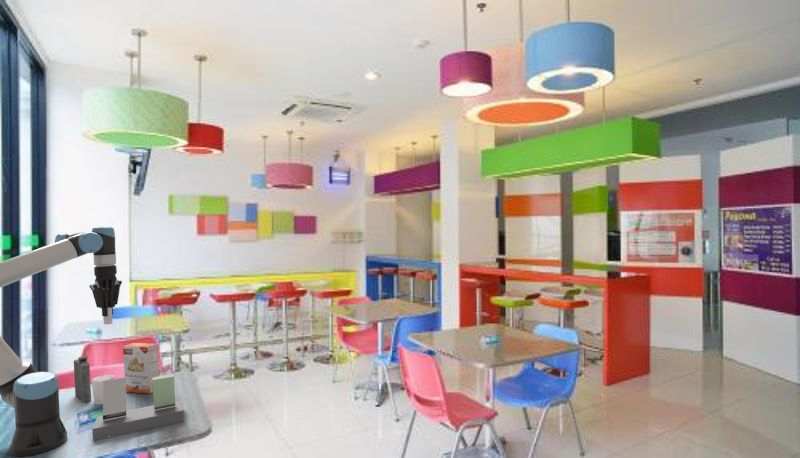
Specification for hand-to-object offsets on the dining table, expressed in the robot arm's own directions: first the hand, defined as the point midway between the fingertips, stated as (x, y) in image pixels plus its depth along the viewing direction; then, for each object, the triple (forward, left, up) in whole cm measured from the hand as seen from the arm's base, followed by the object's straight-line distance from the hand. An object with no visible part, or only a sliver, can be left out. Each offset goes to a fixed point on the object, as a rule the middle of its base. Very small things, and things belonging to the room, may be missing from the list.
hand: (108, 323), depth 181 cm
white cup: (+6, +11, -35) cm, 37 cm away
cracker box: (+19, +4, -35) cm, 40 cm away
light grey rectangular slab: (-15, -18, -29) cm, 38 cm away
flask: (+8, +24, -35) cm, 43 cm away
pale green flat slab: (-5, -30, -29) cm, 42 cm away
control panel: (-10, -24, -34) cm, 43 cm away
